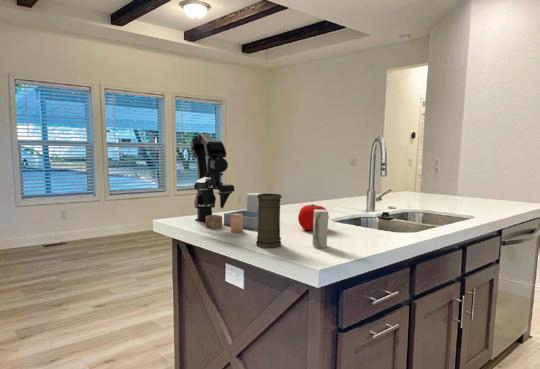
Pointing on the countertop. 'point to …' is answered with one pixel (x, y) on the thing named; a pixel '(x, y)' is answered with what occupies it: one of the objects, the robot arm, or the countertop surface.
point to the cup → (252, 202)
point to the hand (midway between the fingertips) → (213, 207)
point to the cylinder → (236, 223)
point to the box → (320, 228)
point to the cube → (213, 221)
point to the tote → (244, 219)
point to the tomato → (308, 216)
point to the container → (269, 221)
